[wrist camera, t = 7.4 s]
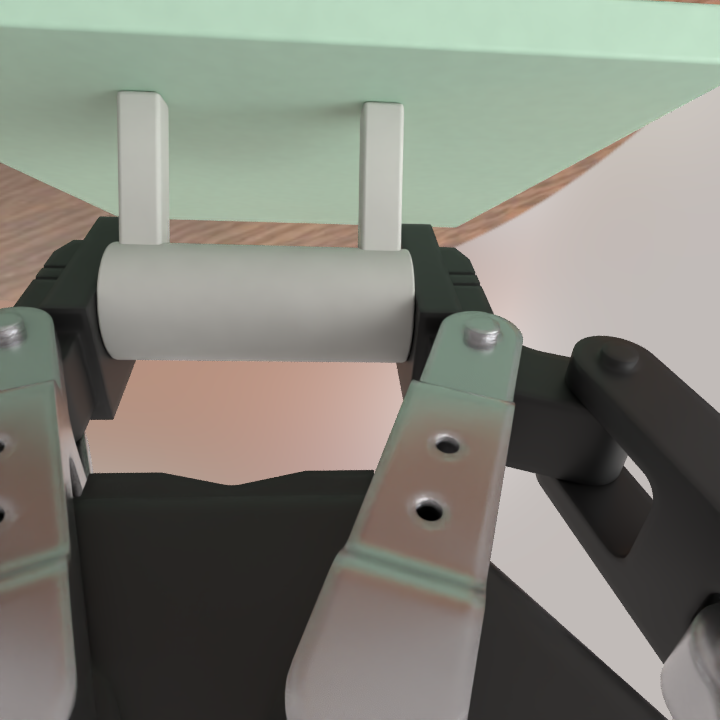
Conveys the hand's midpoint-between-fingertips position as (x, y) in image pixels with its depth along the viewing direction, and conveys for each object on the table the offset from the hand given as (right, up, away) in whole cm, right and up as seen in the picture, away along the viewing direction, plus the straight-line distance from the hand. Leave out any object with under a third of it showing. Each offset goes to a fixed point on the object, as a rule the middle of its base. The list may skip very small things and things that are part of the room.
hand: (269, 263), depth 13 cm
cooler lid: (0, +4, +4) cm, 5 cm away
